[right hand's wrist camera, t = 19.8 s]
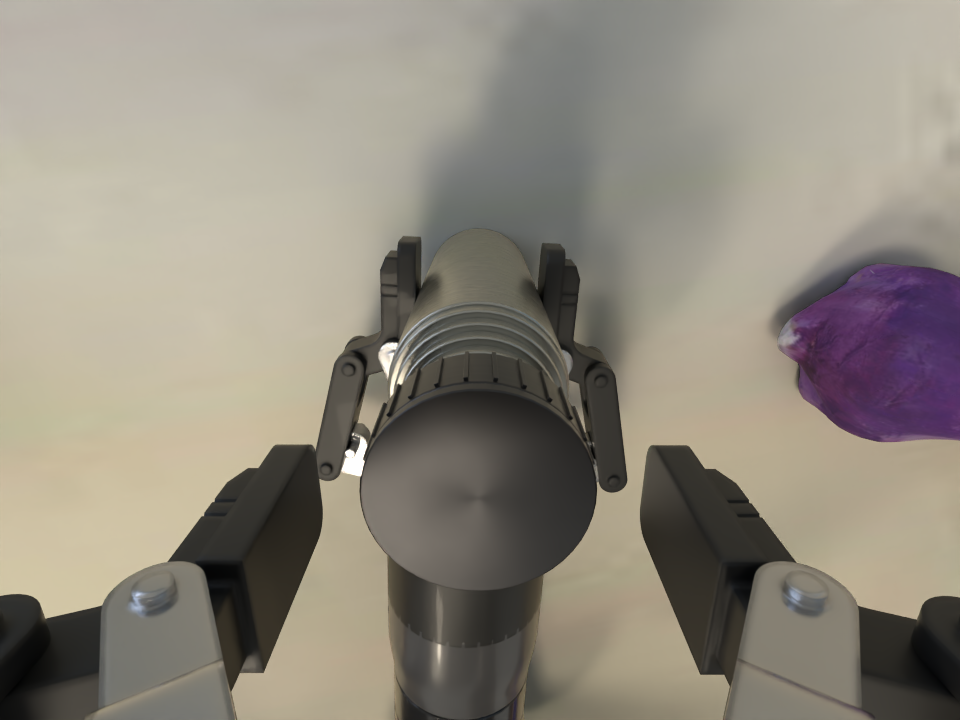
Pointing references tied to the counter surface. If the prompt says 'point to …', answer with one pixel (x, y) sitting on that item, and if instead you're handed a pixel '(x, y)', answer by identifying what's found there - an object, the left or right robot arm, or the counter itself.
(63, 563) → the counter surface
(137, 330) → the counter surface
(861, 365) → the figurine
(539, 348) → the bottle
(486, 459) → the cap
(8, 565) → the counter surface
